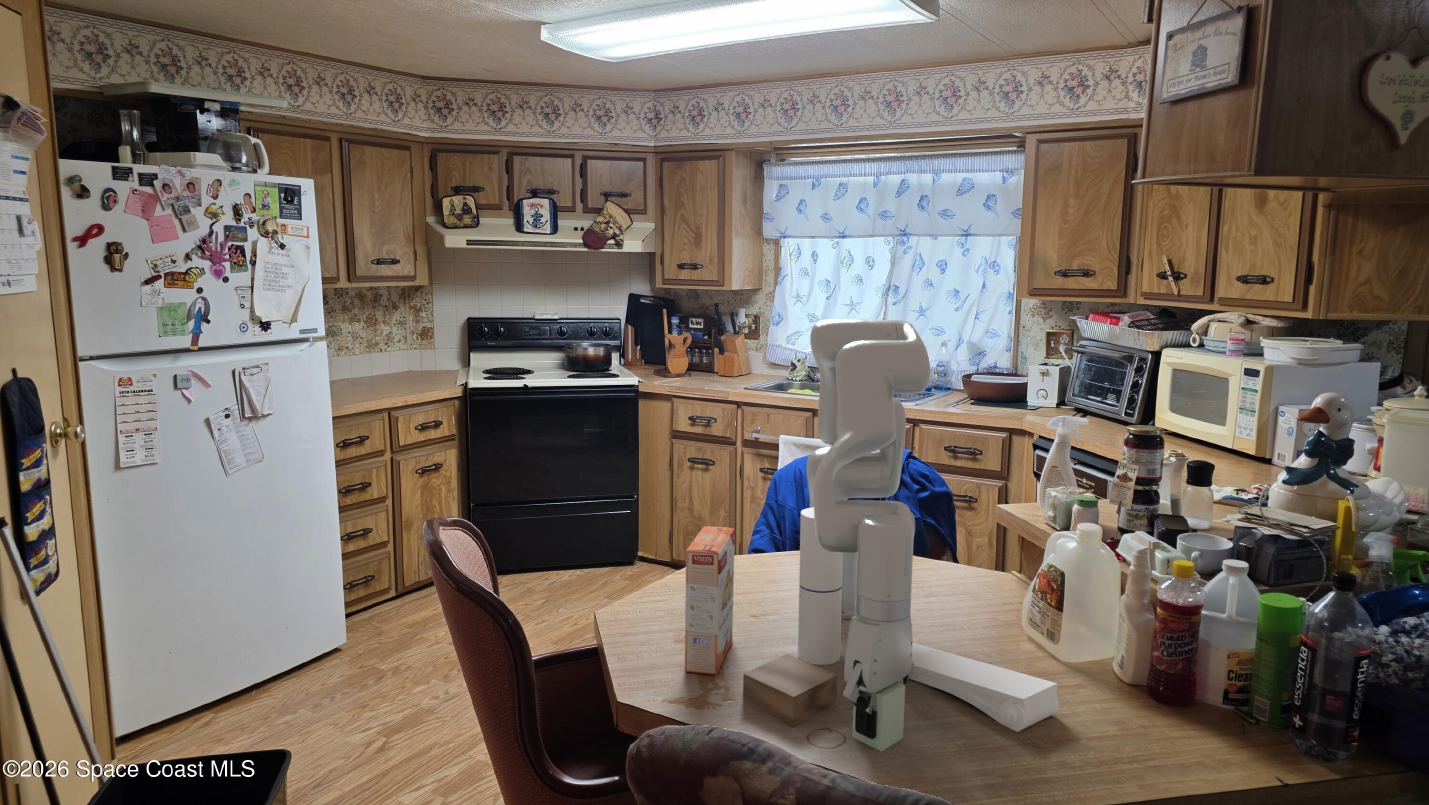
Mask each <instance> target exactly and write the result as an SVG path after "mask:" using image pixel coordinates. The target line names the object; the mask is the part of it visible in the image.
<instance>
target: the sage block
mask: <svg viewBox="0 0 1429 805" xmlns="http://www.w3.org/2000/svg"><path fill="white" fill-rule="evenodd" d="M864 685H865V684H864ZM905 694H906V684H905V685H904V684H901V683H899V682H898V683H897V682H895V683H893V684H891V685H889V686H887V687H885V688H883V689H881V690H879V691H878V692H877V694H876V701H875V706H874V711H876V712H877V719H876V737H875V738H874V739H870V738H868V737H866V736H864V735H862V734H859V733H857V732H856V730H855V717H856V707H855V706H853V705H852V706H853V711H852V738H854V739H856V740H858V741H860V742H861V743H863V744H865V745H866V746H867V745H868V746H869V747H872V748H874V749H875V750H878V751H880V752H882V751H884V750H886V749H887V748H889V747H891V746H893V745H894V744H896V743H898V742H899V741H901V740H903V739H904V725H905V724H904V720H905V700H906V699H905V698H906V697H905V696H906V695H905ZM868 695H869V693H867V692H864V691H863V696H862V697H864V698H865V699H866V700H868Z"/></svg>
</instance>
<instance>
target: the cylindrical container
mask: <svg viewBox="0 0 1429 805" xmlns="http://www.w3.org/2000/svg"><path fill="white" fill-rule="evenodd" d="M799 529H800V530H799V531H800V536H799V541H800V542H799V544H800V545H799V575H798V576H799V577H798V578H799V580H798V582H799V584H798V585H799V587H798V588H799V589H798V623H797V624H798V626H797V628H798V630H797V631H798V632H797V658H798V659H800V660H803V661H805V662H808V663H810V664H812V665H818V666H819V665H820V666H824V665H825V666H826V665H831V664H835V663H836V662H838V661H840V659H841V658H840V657H841V632H842V629H841V628H842V619H841V606H842V572H843V553H840V552H830V551H827V550H825V549H823V548H822V547H821V546H820V544H819V543H818V540H817V537H816V532H815V521H814V507H812V508H810V507H808V508H804V509H802V510H801V511H800V528H799Z"/></svg>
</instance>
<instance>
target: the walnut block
mask: <svg viewBox="0 0 1429 805" xmlns="http://www.w3.org/2000/svg"><path fill="white" fill-rule="evenodd" d="M742 675H743V677H742V678H743V679H742V680H743V682H742V704H745V705H746V706H748V707H750V708H752V709H755V710H756V711H758V712H760V713H762V714H764V715H766V716H768V717H770V718H773V719H774V720H775V721H778V722H780V723H782V724H785V725H787V726H789V728H796V727H797V726H799V725H801V724H803V723H804V722H806V721H809V720H810V719H812V718H813V717H816V716H817V715H819V714H821V713H823V712H825V711H826V710H829V709H830V708H832V707H834V706H836V705H837V694H838V692H837V690H838V675H837V674H835V673H834V672H832V671H829V670H826V669H824V668H822V667H819V666H816V664H811V663H808V662H805V661H803V660H801V659H800V658H799V657H796V656H793V655H791V654H789V653H786V654H784V655H782V656H779V657H777V658H775V659H773V660H770V661H769V662H766V663H763V664H761V665H760V666H757V667H755V668H752V669H750V670H748V671H745V672H744V673H743V674H742Z"/></svg>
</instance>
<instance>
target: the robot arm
mask: <svg viewBox="0 0 1429 805" xmlns="http://www.w3.org/2000/svg"><path fill="white" fill-rule="evenodd" d="M809 336H810V339H809V341H810V343H809V344H810V348H811V352H812V355H813V358H814V360H815V363H816V365H817V369H818V371H819V379H820V380H819V395H818V406H817V408H818V409H817V432H818V437H819V438H820V440H821V442H822V443H823V444H826V445H827V446H824V447H820V448H817V449H815V450H813V451H812V452H811V453H810V454H809V456H808V458H807V461H806V468H805V470H806V478H807V485H808V493H809V494H808V496H809V508H812V507H814V521H815V532H816V537H817V540H818V543H819V544H820V546H821V547H822V548H823V549H825V550H827V551H830V552H840V553H843V572H842V606H841V620H849V619H851V620H850V623H849V624H850V625H849V628H848V633H847V638H846V639H847V640H846V647H845V656H844V666H843V668H844V669H843V675H844V676H843V679H844V682H845V683H846V685H845V687H844V690H843V692H842V696H843V697H844V698H846V699H848V700H849V702H851V703H852V706H855V707H856V717H855V730H856V732H857V733H859V734H862V735H864V736H866V737H868V738H870V739H874V738H875V737H876V719H877V712H876V711H874V706H875V701H876V694H877V692H878V691H879V690H881V689H883V688H885V687H887V686H889V685H891V684H893V683H895V682H897V683H898V682H899V683H901V684H904V685H905V686H906V684H907V681H908V679H909V678H908V676H909V674H910V672H911V670H912V669H913V667H914V662H913V660H912V649H913V644H912V642H913V627H912V626H913V624H912V616H911V607H912V606H911V603H912V602H911V601H912V584H913V582H912V581H913V562H914V561H913V559H914V537H915V533H916V520H915V515H914V513H913V512H911V509H910V507H909V506H908V505H907V504H906V503H904V502H902V501H898V500H871V499H872V498H874V499H875V498H876V499H877V498H889V497H893V496H894V495H895V494H896V493H897V491H898V488H899V486H900V483H901V475H902V466H903V460H904V459H903V457H904V451H905V450H904V449H905V442H906V432H907V418H906V417H907V416H906V411H905V408H904V405H903V403H902V402H901V400H900V399H898V398H896V397H894V395H917V394H921V393H923V392H925V390H926V389H927V387H928V385H929V384H930V383H929V382H930V378H931V363H930V358H929V353H928V350H927V347H926V346H925V343H924V342H923V340H922V338H921V336H920V335H919V333H918V332H917V330H916V329H915V326H914V325H913V324H912V323H911V322H908V321H905V320H898V319H897V320H896V319H860V318H859V319H858V318H857V319H856V318H854V319H853V318H851V319H848V318H837V319H833V318H832V319H822V320H820V321H818V322H816V323H814V325H813V326H812V328H811V330H810V335H809ZM855 498H865V499H855ZM866 498H868V499H869V498H871V499H869V500H868V499H866ZM864 684H865V685H864ZM863 691H864V692H867V693H869V695H868V700H866V699H865V698H864V697H862V696H863Z"/></svg>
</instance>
